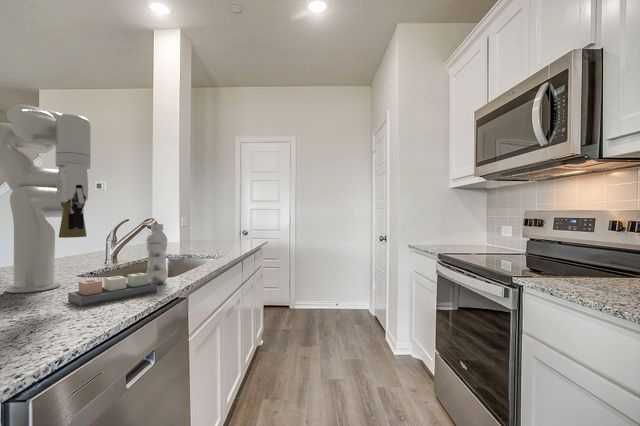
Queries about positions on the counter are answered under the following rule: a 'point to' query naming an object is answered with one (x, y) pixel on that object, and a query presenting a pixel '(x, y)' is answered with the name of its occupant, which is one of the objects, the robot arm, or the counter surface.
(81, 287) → the peach square block
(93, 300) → the base
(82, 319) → the counter surface
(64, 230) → the olive rounded piece
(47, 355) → the counter surface
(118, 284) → the key cream
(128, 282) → the key sage
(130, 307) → the counter surface
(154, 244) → the plastic bottle
